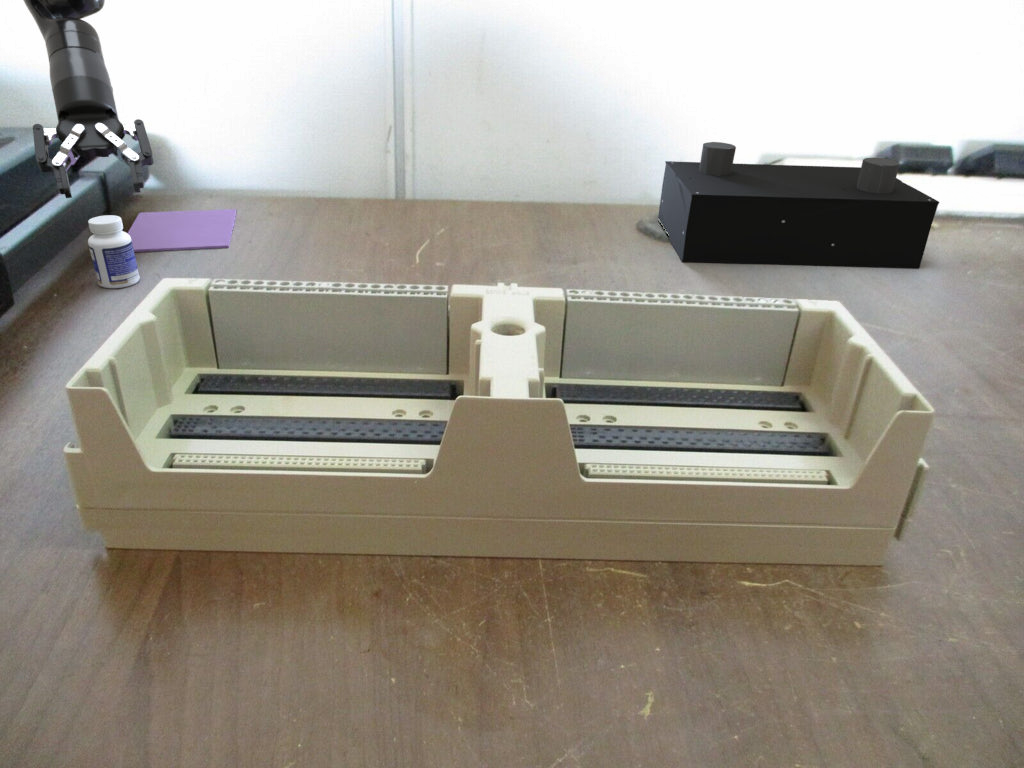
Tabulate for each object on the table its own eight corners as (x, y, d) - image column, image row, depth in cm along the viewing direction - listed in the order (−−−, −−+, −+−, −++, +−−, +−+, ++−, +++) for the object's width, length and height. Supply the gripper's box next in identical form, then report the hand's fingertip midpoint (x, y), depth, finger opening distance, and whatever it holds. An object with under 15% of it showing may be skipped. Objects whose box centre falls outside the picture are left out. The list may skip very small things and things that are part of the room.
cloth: (117, 253, 116) (116, 250, 116) (140, 214, 133) (139, 212, 132) (228, 247, 119) (228, 245, 119) (236, 211, 136) (236, 208, 136)
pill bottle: (148, 277, 108) (134, 215, 103) (126, 290, 103) (111, 226, 99) (112, 274, 108) (98, 212, 104) (89, 287, 104) (73, 223, 99)
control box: (681, 261, 120) (696, 165, 113) (655, 216, 141) (665, 132, 134) (919, 268, 121) (948, 172, 114) (856, 222, 142) (878, 139, 135)
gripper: (18, 75, 102) (37, 182, 98) (135, 72, 107) (157, 173, 104) (31, 110, 108) (49, 211, 105) (140, 105, 114) (161, 201, 111)
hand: (103, 192), depth 105 cm, fingers open, 8 cm apart
